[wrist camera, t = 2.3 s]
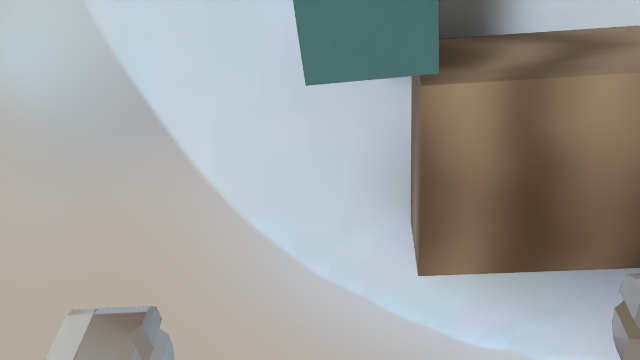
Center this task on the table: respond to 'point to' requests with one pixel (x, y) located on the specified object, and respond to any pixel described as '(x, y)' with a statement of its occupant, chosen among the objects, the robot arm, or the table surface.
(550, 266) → the walnut block
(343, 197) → the table surface
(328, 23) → the spice tin
